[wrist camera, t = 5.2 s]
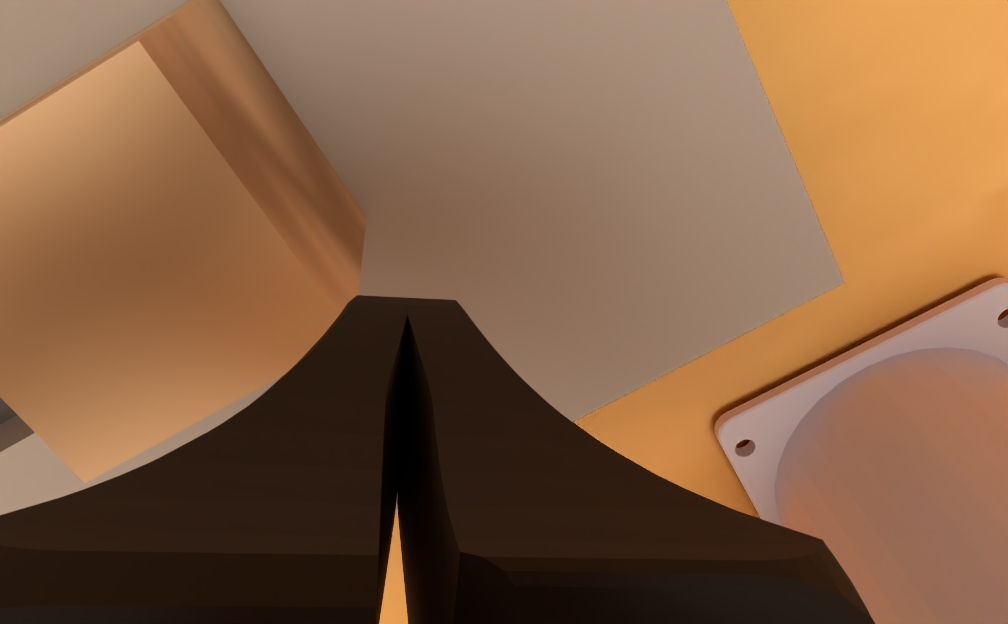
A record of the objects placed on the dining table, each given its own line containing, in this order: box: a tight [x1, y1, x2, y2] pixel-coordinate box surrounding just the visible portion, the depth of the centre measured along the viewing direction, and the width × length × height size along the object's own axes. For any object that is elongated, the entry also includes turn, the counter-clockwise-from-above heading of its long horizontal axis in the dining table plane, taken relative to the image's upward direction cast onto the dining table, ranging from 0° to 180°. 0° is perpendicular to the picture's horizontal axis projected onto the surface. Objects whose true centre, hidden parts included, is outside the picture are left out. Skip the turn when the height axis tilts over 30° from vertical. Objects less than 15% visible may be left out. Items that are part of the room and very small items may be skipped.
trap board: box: [0, 0, 845, 515], centre depth 18 cm, size 18×20×4 cm
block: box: [0, 0, 366, 483], centre depth 16 cm, size 5×5×5 cm
